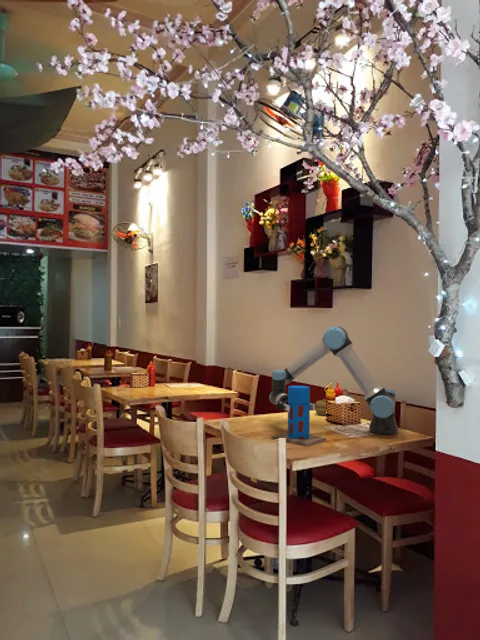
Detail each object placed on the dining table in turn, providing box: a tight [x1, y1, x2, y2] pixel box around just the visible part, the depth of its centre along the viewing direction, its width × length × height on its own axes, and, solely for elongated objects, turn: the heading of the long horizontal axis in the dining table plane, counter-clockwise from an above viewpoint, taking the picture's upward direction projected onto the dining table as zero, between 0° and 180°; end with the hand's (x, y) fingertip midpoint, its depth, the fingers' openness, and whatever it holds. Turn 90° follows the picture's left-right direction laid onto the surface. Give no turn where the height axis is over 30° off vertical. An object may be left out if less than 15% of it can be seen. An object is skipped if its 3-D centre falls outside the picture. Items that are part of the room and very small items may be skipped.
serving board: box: [271, 431, 327, 447], centre depth 261 cm, size 22×16×2 cm
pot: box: [314, 398, 327, 416], centre depth 330 cm, size 12×12×10 cm
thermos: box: [287, 385, 311, 439], centre depth 261 cm, size 11×11×25 cm
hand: (301, 408), depth 258 cm, fingers open, 13 cm apart
